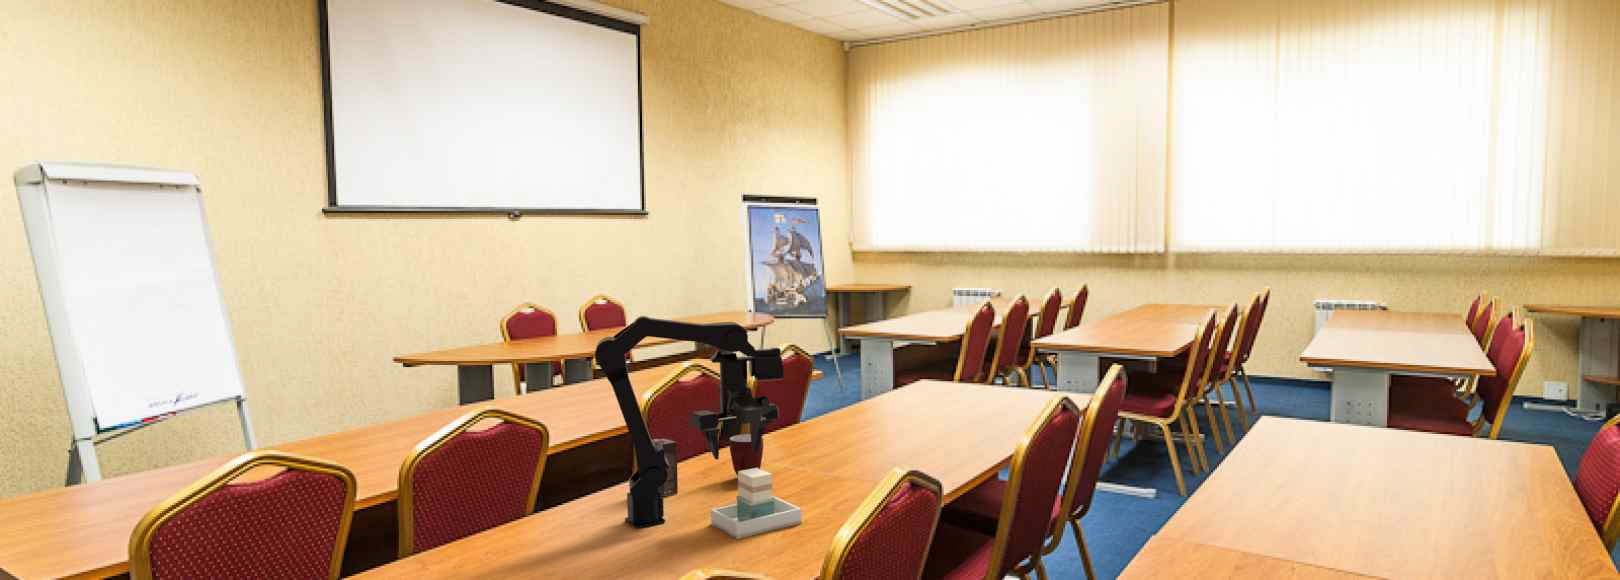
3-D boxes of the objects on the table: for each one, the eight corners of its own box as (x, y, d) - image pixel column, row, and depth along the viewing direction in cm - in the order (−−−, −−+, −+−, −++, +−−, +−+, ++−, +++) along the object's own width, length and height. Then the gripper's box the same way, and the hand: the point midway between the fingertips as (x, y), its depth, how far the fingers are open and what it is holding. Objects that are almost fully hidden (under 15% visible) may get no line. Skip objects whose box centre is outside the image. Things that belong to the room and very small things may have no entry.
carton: (738, 495, 182) (737, 471, 181) (757, 491, 184) (756, 467, 184) (752, 502, 176) (752, 477, 176) (772, 498, 179) (771, 474, 179)
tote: (737, 538, 172) (736, 523, 172) (711, 523, 181) (710, 509, 181) (801, 523, 180) (801, 508, 180) (773, 509, 189) (773, 496, 189)
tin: (737, 519, 181) (736, 495, 181) (760, 514, 185) (760, 490, 184) (750, 527, 177) (750, 502, 176) (775, 521, 180) (774, 497, 180)
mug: (756, 487, 207) (755, 444, 206) (723, 485, 208) (722, 444, 207) (767, 474, 217) (766, 434, 216) (735, 473, 218) (734, 433, 218)
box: (679, 493, 203) (677, 441, 202) (662, 497, 200) (660, 444, 199) (666, 487, 208) (664, 437, 207) (648, 491, 205) (647, 440, 204)
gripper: (711, 393, 174) (714, 471, 175) (792, 382, 184) (793, 456, 185) (687, 385, 183) (689, 459, 184) (764, 375, 193) (766, 446, 194)
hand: (735, 455), depth 186 cm, fingers open, 9 cm apart
